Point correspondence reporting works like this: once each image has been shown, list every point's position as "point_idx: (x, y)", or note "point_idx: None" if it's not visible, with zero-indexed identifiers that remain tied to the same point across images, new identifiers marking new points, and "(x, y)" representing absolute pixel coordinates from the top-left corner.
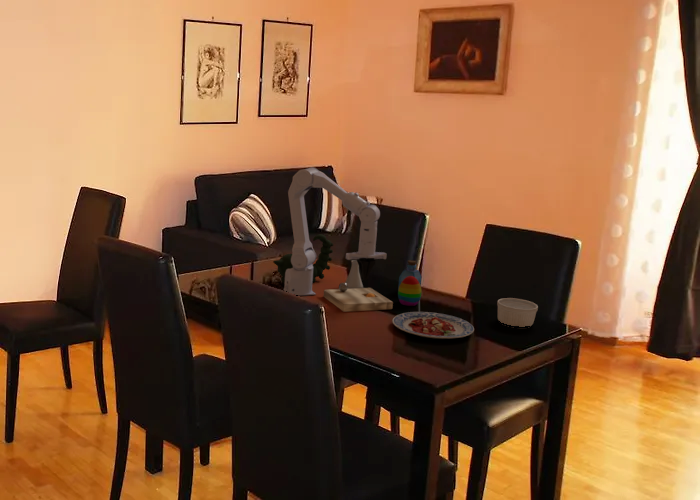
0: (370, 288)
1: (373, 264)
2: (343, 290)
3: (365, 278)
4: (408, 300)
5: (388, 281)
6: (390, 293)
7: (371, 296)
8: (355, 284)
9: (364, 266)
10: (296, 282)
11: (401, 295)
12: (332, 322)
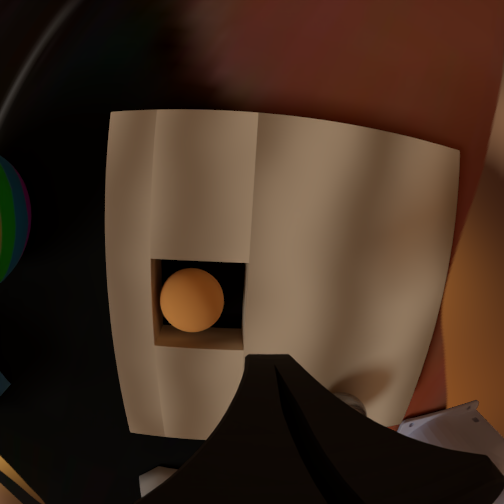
0: (133, 424)
1: (183, 493)
2: (344, 393)
3: (279, 359)
4: (3, 158)
5: (35, 482)
6: (38, 390)
7: (196, 279)
8: None
9: (398, 449)
10: (484, 438)
11: (10, 195)
12: (501, 58)
